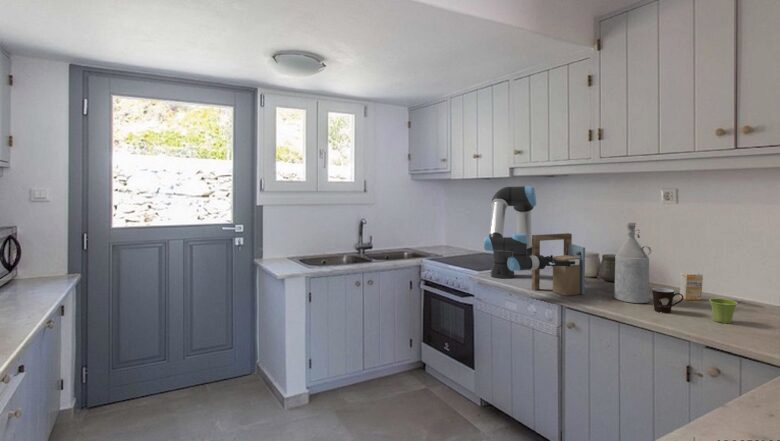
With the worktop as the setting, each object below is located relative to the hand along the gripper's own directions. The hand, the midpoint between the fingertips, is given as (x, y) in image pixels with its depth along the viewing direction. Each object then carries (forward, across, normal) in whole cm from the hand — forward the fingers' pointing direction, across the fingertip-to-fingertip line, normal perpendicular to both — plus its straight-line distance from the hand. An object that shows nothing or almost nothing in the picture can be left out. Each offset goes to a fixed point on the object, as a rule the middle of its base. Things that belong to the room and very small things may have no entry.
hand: (571, 260), depth 233 cm
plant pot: (+28, +62, -18) cm, 70 cm away
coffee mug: (+18, +44, -18) cm, 51 cm away
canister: (+19, +23, -18) cm, 35 cm away
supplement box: (+48, +30, -18) cm, 59 cm away
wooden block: (-3, +1, -18) cm, 18 cm away
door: (+4, -2, -17) cm, 18 cm away
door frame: (-4, -12, -18) cm, 22 cm away
